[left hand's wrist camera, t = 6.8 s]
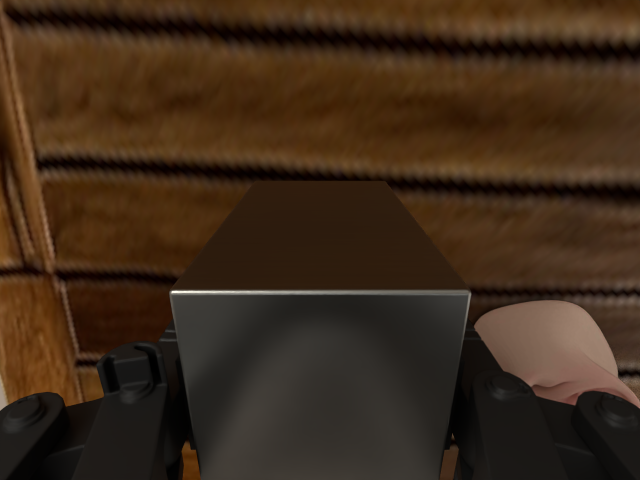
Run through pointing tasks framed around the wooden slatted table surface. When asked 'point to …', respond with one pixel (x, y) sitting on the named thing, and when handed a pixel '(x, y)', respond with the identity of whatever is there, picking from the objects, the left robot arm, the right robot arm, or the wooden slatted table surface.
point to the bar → (320, 337)
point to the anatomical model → (553, 350)
